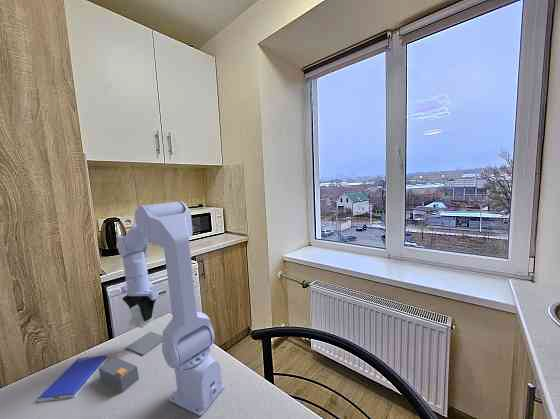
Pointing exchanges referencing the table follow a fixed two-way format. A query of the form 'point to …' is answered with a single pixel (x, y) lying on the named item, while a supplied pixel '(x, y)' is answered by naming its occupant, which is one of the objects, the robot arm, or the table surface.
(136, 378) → the power strip
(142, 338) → the mat
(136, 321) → the block
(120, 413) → the table surface
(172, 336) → the robot arm
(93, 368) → the blue book
